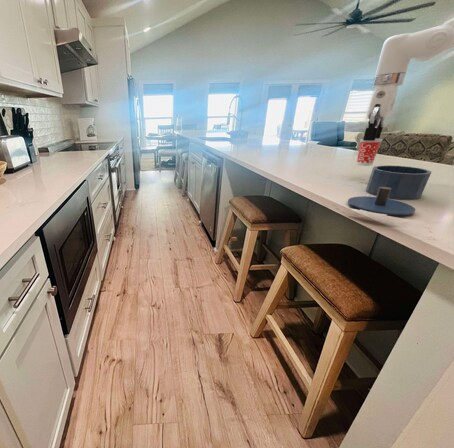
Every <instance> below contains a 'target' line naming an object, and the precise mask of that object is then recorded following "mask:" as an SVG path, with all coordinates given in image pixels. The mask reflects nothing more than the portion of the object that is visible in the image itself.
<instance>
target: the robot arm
mask: <svg viewBox="0 0 454 448" xmlns="http://www.w3.org/2000/svg"><path fill="white" fill-rule="evenodd" d="M452 48H454V17H453V18H451V19H450V20H448V21H447V22H445V23H443V24H440V25H437V26H433V27H430V28H426V29H422V30H419V31H414V32H406V33H399V34H395V35H392V36H390V37H388V38H386V40H384V42H383V44H382V47H381V51H380V54H379V55H380V56H379V59H378V61H377V66H376V70H375V74H374V77H373V81H372V85H371V89H374V91H373V94H372V98H371V100H370V104H369V108H368V111H367V116H366V119H367V120H368V123H367V125H366V128H365V131H364V134H363V137H362V139H363V140H364V141H374V140H375V138H379V139H381V135H382V133H383V128H384V123H385V120H387V119H389V118H391V117H392V113H393V110H394V106H395V103H396V98H397V95H398V90H399V86H403V84H404V81H405V78H406V76H407V75H406V74H407V72H408V67H409V65H410V62H411V59H412V60H414V61H416V62H427V61H429V60H432V59H434V58H435V57H437V56H439V55H441V54H443V53H445V52H446V51H448V50H450V49H452Z"/></svg>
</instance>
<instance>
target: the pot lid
mask: <svg viewBox="0 0 454 448" xmlns="http://www.w3.org/2000/svg"><path fill="white" fill-rule="evenodd" d="M390 192H391V188H389V187H379V190H378V193H377V196H376V195H375V196H353V197H350V198H348V200H347V203H348V205H350V206H351V207H352V208H355V209H358V210H362V211H365V212H368V213H373V214H380V215H388V216H409V215H412V214H414V213H415V212H416V208H415V207H414V206H413V205H411V204H408V203H406V202H403V201H400V200H397V199H391V198H388V197H389V195H390Z"/></svg>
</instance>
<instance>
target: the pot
mask: <svg viewBox="0 0 454 448" xmlns="http://www.w3.org/2000/svg"><path fill="white" fill-rule="evenodd" d="M431 174H432V171H431V170H429V169H426V168H421V167H415V166H406V165H376V166H375V165H374V167H372V170H371V172H370V176H369V179H368V181H367V185H366V188H365V191H366V192H367V194H369V195H373V196H375V197H376V196H377V193H378V190H379V187H389V188H391V192H390V195H389V197H388V199H391V200H402V201H406V200H407V201H413V200H414V201H415V200H419V199H420V198H421V197H422V195H423V193H424V191H425V188H426V186H427V184H428V182H429V180H430V177H431Z"/></svg>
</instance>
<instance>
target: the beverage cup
mask: <svg viewBox="0 0 454 448" xmlns="http://www.w3.org/2000/svg"><path fill="white" fill-rule="evenodd" d="M383 140H384V139H383V138H375V140H374V141H364V140H363V138H360V139H359V148H358V153H357V158H356V162H355V165H356V166H363V167H365V166H366V167H367V166H368V167H369V166H373V164H374V161H375V159H376V157H377V154H378V151H379V148H380V145H381V144H382V142H383Z"/></svg>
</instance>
